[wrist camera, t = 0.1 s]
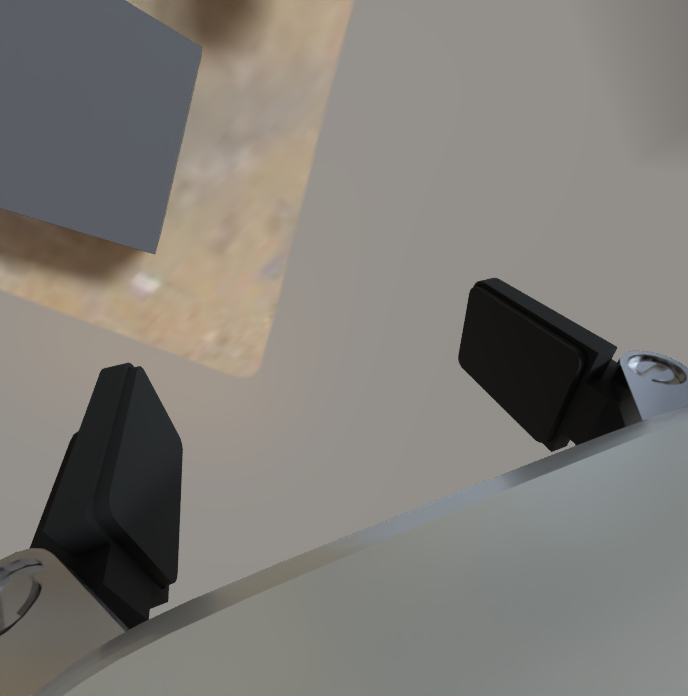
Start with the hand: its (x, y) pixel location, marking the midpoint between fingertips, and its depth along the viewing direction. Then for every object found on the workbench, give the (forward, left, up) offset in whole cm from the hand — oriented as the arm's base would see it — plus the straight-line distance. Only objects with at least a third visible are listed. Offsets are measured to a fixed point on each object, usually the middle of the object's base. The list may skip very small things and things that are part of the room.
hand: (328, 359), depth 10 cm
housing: (-6, -10, -31) cm, 33 cm away
